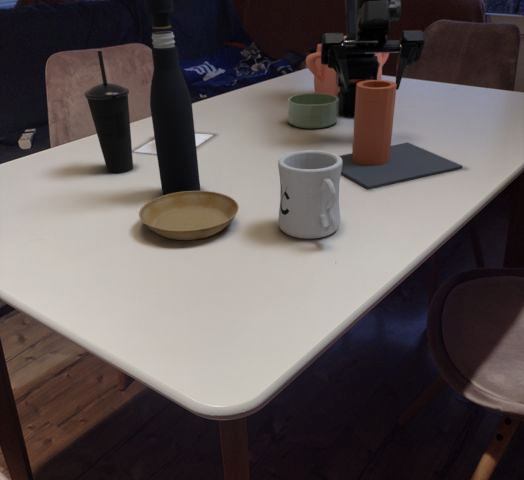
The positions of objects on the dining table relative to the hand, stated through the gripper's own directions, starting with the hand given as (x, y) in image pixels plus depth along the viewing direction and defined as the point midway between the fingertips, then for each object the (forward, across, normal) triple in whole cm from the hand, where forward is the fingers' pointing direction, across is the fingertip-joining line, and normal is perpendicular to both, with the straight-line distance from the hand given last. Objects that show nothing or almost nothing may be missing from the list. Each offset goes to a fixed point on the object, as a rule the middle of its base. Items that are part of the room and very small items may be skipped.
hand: (372, 89), depth 108 cm
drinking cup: (+14, -47, +2) cm, 49 cm away
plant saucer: (+32, -30, -17) cm, 48 cm away
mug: (+35, -12, -19) cm, 41 cm away
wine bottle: (+23, -34, -8) cm, 42 cm away
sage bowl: (-6, -10, +22) cm, 25 cm away
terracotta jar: (+13, 0, +2) cm, 13 cm away
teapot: (-20, 0, +36) cm, 41 cm away
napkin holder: (+3, -39, +13) cm, 42 cm away
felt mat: (+15, +3, +1) cm, 15 cm away
